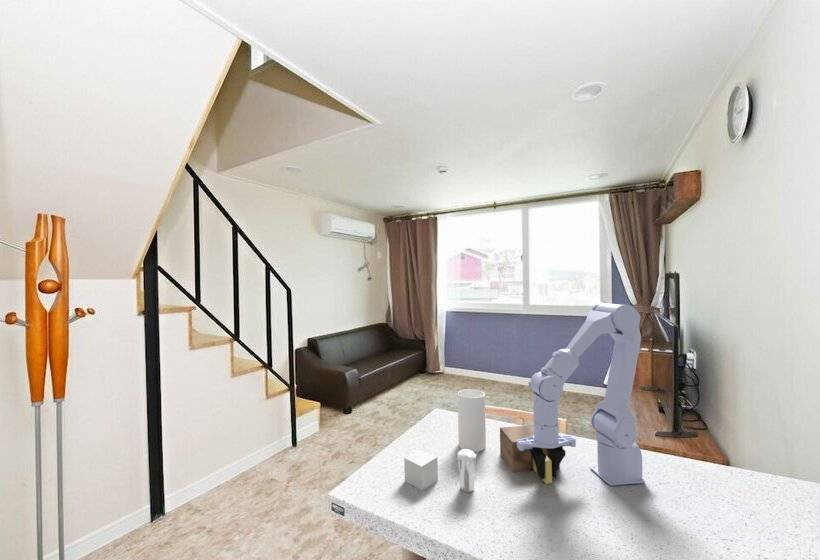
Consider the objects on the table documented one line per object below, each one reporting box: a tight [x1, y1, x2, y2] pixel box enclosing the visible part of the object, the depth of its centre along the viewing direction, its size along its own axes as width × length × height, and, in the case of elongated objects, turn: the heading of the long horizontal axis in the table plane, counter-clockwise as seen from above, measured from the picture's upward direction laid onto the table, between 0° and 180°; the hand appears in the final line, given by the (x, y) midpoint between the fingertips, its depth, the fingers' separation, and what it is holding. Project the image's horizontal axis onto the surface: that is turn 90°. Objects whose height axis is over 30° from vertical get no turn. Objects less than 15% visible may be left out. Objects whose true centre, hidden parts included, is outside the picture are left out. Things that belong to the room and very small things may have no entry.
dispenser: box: [499, 424, 561, 473], centre depth 95 cm, size 13×10×8 cm
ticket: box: [531, 454, 553, 485], centre depth 92 cm, size 2×14×6 cm, turn 6°
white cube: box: [403, 449, 439, 492], centre depth 87 cm, size 6×6×6 cm
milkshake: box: [456, 449, 480, 493], centre depth 84 cm, size 4×5×10 cm
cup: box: [457, 388, 487, 453], centre depth 105 cm, size 8×8×16 cm
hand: (546, 476), depth 86 cm, fingers closed
